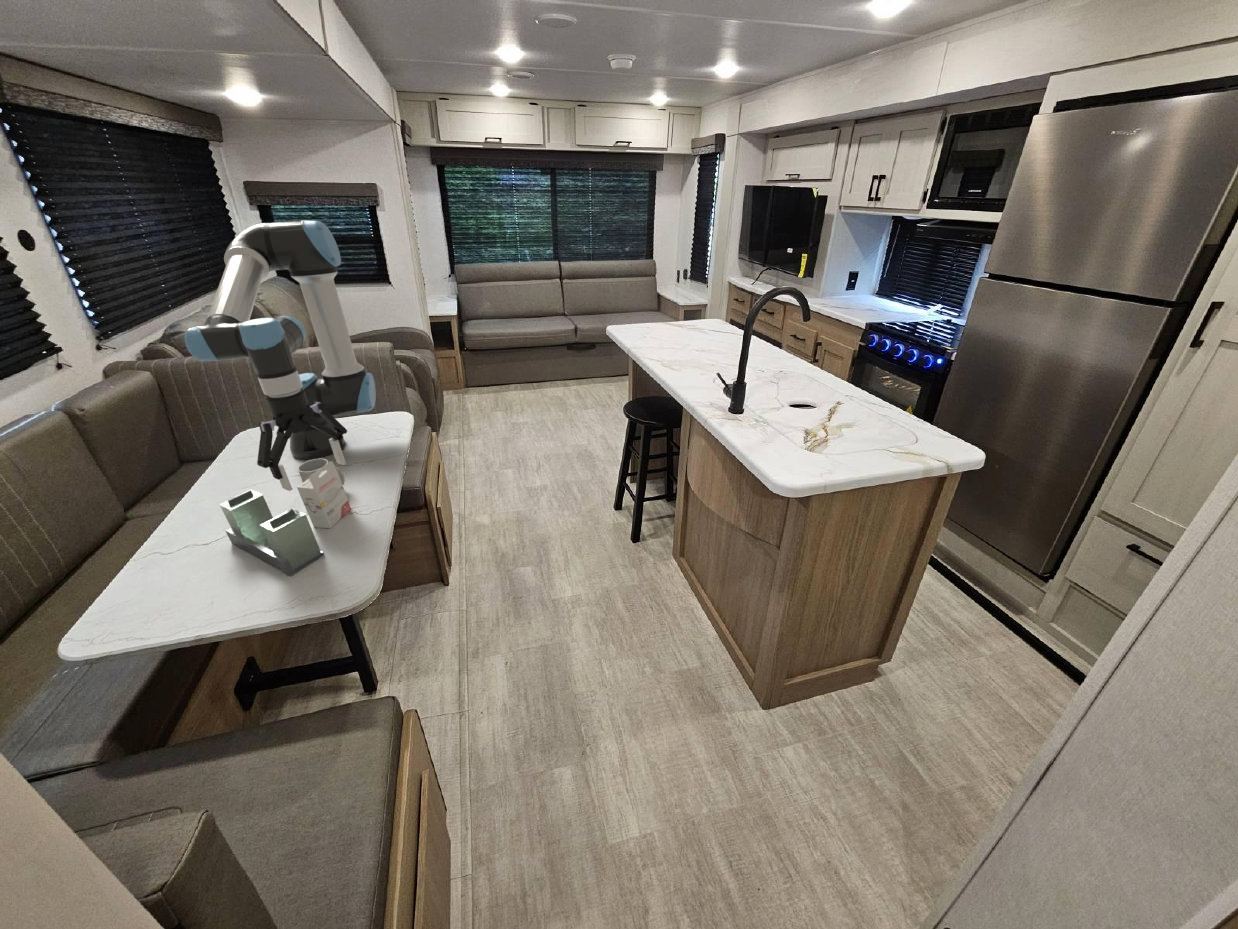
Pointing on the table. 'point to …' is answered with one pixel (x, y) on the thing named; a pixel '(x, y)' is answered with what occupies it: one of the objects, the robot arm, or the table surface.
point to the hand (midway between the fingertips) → (315, 475)
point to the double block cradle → (271, 533)
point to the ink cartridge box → (324, 497)
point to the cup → (315, 469)
